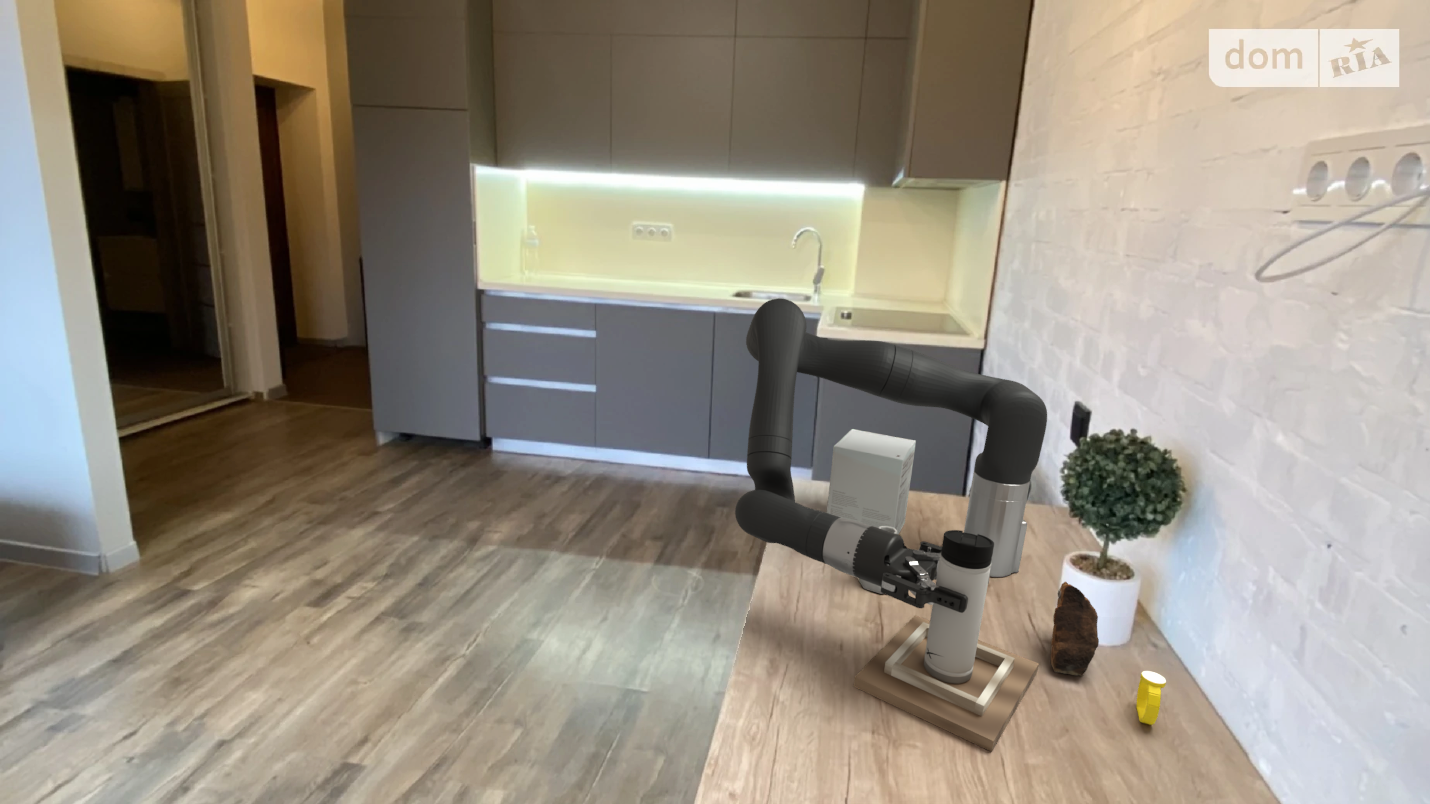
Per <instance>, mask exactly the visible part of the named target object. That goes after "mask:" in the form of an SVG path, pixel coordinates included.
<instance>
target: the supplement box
mask: <svg viewBox="0 0 1430 804" xmlns="http://www.w3.org/2000/svg"><path fill="white" fill-rule="evenodd" d="M916 443H917V440H915V439H914V440H913V439H910V438H902V437H898V436H896V437H895V436H891V435H886V434H881V433H876V432H870V431H864V430H860V429H854V428H851V429H850V430H849V431H848V432H847V433H846V434H845V435H844V436H843V437H842V438H841V439H839V441H838V442H837V443H836V444H834V445H833V449H832V457H831V460H832V461H831V468H830V476H829V477H830V479H829V487H828V497H827V504H826V513H829V514H832V515H835V516H838V517H841V518H844V519H850V520H855V521H858V522H862V523H865V524H868V525H871V526H874V527H877V528H879V526H889V527H893V528H895V529H896V530H897V534H898V535H900V533H901V530H902V529H903V527H904V525H905V523H906V516H907V508H908V502H909V494H910V486H911V481H912V479H911V478H912V474H913V464H914V458H915V450H916Z"/></svg>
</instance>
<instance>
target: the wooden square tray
mask: <svg viewBox="0 0 1430 804" xmlns="http://www.w3.org/2000/svg"><path fill="white" fill-rule="evenodd" d="M929 625H930V620H928V619H926V618H924V617H921V616H919V615H916V614H915V615H913V617H911V619H909V620H908V622H907V623H906V624H904V626H903V627H902V628H900V630H899V631H898V632H897V633H896V634H895V635H894V636H893V637H892V638H891V639H890V640H889V641H888V642H887V643H886V644H885V645H884V646H883V647H882V648H881V649H880V650H879V652H877V654H875V655H874V657H873V658H872V659H870V661H869V662H867V664H865V666H864V667H863V668H862V669H860V671H859V672H858V673H857V674H856V675H855V676H854V681H853V687H854V688H856V689H858V688H859V689H858V690H860V691H863V692H864V693H866V694H868V695H870V696H873V697H875V698H877V699H879V700H881V701H883V702H886V703H888V704H890V705H891V706H894V707H896V708H898V709H900V710H902V711H904V712H907V713H909V714H911V715H913V716H915V717H917V718H919V719H921V720H924V721H926V722H928V723H930V724H932V725H934V726H936V727H938V728H940V729H943V730H944V731H947V732H949V733H951V734H953V735H955V736H957V737H959V738H961V739H963V740H965V741H968V742H970V743H972V744H974V745H977V746H978V747H980V748H983V749H985V750H986V751H989V752H991V753H992V752H993V750H994V749H995V748H996V745H997V744H998V742H999V740H1000V738H1001V737H1002V735H1003V733H1004V731H1005V730H1006V727H1007V726H1008V724H1009V722H1010V720H1011V719H1012V717H1013V716H1014V714H1015V711H1016V710H1017V708H1018V707H1019V706H1020V703H1021V702H1022V700H1023V698H1024V696H1025V694H1026V693H1027V692H1028V690H1029V688H1030V686H1031V684H1032V683H1033V681H1034V679H1035V677H1036V675H1037V674H1038V669H1039V665H1040V663H1038V662H1036V661H1034V660H1031V659H1028V658H1026V657H1023V656H1021V655H1018V654H1015V653H1012V652H1010V651H1008V650H1005V649H1003V648H1001V647H997V646H995V645H992V644H990V643H987V642H985V641H982V640H979V639H978V643H977V649H976V655H975V660H974V665H973V672H972V676H971V678H970V679H969V680H968V681H966V682H964V683H959V684H953V683H947V682H943V681H940V680H938V679H936V678H935V677H933V676H932V675H930V674H929V673H928V672H927V671H926V669H925V667H924V657H925V651H926V644H927V638H928V631H929Z"/></svg>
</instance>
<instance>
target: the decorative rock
mask: <svg viewBox="0 0 1430 804" xmlns="http://www.w3.org/2000/svg"><path fill="white" fill-rule="evenodd" d="M1098 619H1099V616H1098V613H1097V610H1096V608H1094V606H1093V605H1092V603H1091V601H1090V599H1088V597H1086V596H1085V594H1084V593H1083V592H1082V591H1081V590H1080V589H1079V588H1077V587H1075V586H1073V585H1072V584H1069V583H1068V582H1067V581H1064V582H1063V583H1061V585H1060V587H1059V589H1058V591H1057V603H1056V608H1055V609H1054V613H1053V618H1052V621H1053V627H1052V633H1051V634H1052V635H1051V636H1052V637H1051V642H1050V644H1051V649H1050V665H1051V667H1052V670H1053V671H1054V673H1059V674H1060V673H1061V674H1064V675H1067V674H1068V675H1072V676H1080V677H1082V676H1084V674H1085V673H1086V671H1087V669H1088V667H1089V665H1090V663H1091V662H1092V660H1093V659H1094V656H1095V652H1096V651H1097V648H1098V647H1099V642H1100V641H1099V637H1098V634H1099V633H1098Z"/></svg>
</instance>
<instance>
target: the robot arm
mask: <svg viewBox="0 0 1430 804" xmlns="http://www.w3.org/2000/svg"><path fill="white" fill-rule="evenodd" d="M745 340H746V341H745V345H746V348H747V351H748V352H749V354H750V355H751V356H752V357H753V359H755V360H756V361H757V362H758V364H757V365H758V367H757V369H758V371H757V380H756V381H757V382H756V387H755V393H754V398H753V405H752V410H751V415H750V416H751V417H750V423H749V428H748V440H747V451H746V452H747V453H746V469H747V470H746V471H747V473H748V475H749V477H751V479H752V481H753V484H754V489H753V490H749V491H748V492H745V493H744V494H743V495H741V497H740V498H739V499H738V501H737V502H736V505H735V508H734V514H735V519H736V523H737V525H738V526H739V527H740V529H741V530H743V532H745V533H746V534H748V535H750V536H753V537H755V538H757V539H759V540H760V541H763V542H765V543H768V544H777V545H778V544H779V545H781V546H784V547H787V548H789V549H792V550H793V551H795V552H797V553H799V554H801V555H803V556H804V557H807V558H809V559H812V560H814V561H817V562H820V563H823V564H825V565H827V566H830V567H832V568H834V569H835V570H837V571H839V572H841V573H844V574H846V575H849V576H852V577H854V578H857V579H858V580H859V579H862V580H864V581H867V582H870V583H872V584H875V585H878V586H880V587H881V592H882V593H884V594H883V595H886V596H889V597H891V598H894V599H895V600H898V601H901V602H903V603H906V604H907V605H910V606H912V607H915V608H917V609H924V608H925V605H926V604H927V605H933V604H934V603H936V604H939V605H941V606H944V607H947V608H949V609H952V610H955V611H957V612H960V613H963V612H964V611H965V610H966V608H967V603H968V597H967V596H966V595H964V594H961V593H959V592H956V591H953V590H950V589H948V588H945V587H942V586H939V587H938V589H937V585H936V582H935V581H936V579H937V573H938V566H939V560H940V553H941V549H942V545H938V544H935V543H932V542H929V541H920V544H919V548H918V549H913V548H908V547H907V546H906V544H905V541H904V539H903V537H902V536H901V535H900V534H895V533H892V532H889V531H886V530H883V529H880V528H877V527H874V526H871V525H868V524H865V523H862V522H858V521H855V520H850V519H844V518H841V517H838V516H835V515H832V514H829V513H827V511H823V510H819V509H814V508H810V507H807V506H805V505H802V504H800V503H798V502H796V498H795V491H794V490H795V488H794V483H793V477H792V471H791V470H792V469H791V468H792V459H793V457H792V456H793V455H792V454H793V437H794V434H793V433H794V432H793V429H794V408H795V407H794V405H795V394H796V393H795V392H796V382H797V375H798V373H799V374H804V375H809V376H813V377H816V378H821V379H824V380H826V381H830V382H833V383H836V384H839V385H841V386H845V387H849V388H852V389H855V390H858V391H861V392H864V393H868V394H870V395H873V396H875V397H878V398H882V399H885V400H888V401H891V402H895V403H897V404H902V405H909V406H913V407H914V406H915V407H926V408H927V407H929V408H940V409H946V410H950V411H953V412H956V413H959V414H961V415H964V416H967V417H969V418H971V419H973V420H976V421H978V422H980V423H982V424H984V425H985V426H987V431H986V437H985V442H984V445H983V450H982V451H981V452H980V453H979V454H978V455H977V456H976V458H975V461H974V467H973V472H972V480H971V486H970V493H969V497H968V505H967V511H966V518H965V522H964V528H963V532H965V533H971V534H975V535H977V534H980V535H983V536H985V537H988V538H989V539H991V540H992V541H993V542H994V549H993V555H992V560H991V567H990V575H989V580H988V584H989V582H990V577H993V578H1002V577H1003V578H1004V577H1007V576H1010V575H1012V574H1013V573H1019V571H1020V566H1021V561H1022V555H1023V550H1024V545H1025V541H1026V540H1025V539H1026V533H1027V529H1028V522H1027V521H1026V520H1025V519H1024V516H1025V511H1026V510H1025V509H1026V505H1027V501H1028V494H1029V490H1030V489H1029V488H1030V483H1031V480H1032V474H1033V471H1034V470H1035V469H1036V467H1037V466H1038V463H1039V460H1040V456H1041V451H1042V447H1043V444H1044V439H1045V435H1046V429H1047V424H1048V412H1047V411H1048V409H1047V406H1046V404H1045V402H1044V400H1043V399H1042V398H1041V397H1040V396H1039V395H1038V394H1037V393H1035V392H1034V391H1032V390H1031V389H1030V388H1029V387H1028V386H1026V385H1024V384H1022V383H1020V382H1017V381H1016V380H1015V381H1014V380H1010V379H1006V378H999V377H995V376H991V375H990V376H989V375H984V374H980V373H975V372H971V371H967V370H963V369H961V368H958V367H956V366H953V365H951V364H949V363H946V362H944V361H942V360H940V359H937V358H934V357H932V356H929V355H926V354H923V353H921V352H918V351H915V350H913V349H910V348H906V347H904V346H900V345H897V344H894V343H889V342H886V341H882V340H881V341H880V340H835V339H829V338H825V337H822V336H818V335H815V334H811V333H808V332H807V320H806V317H805V313H804V312H803V310H802V309H801V307H800V306H798V305H797V304H796V303H795V302H793V301H791V300H789V299H787V298H771V299H769V300H767V301H765V302H763V304H762V305H761V306H759V307H758V308H757V310H756V312H755V313H754V314H753V318H752V319H751V322H750V325H749V328H748V331H747V334H746V337H745ZM1011 573H1012V574H1011ZM909 592H910V593H911V594H912V595H913V596H914V597H913V596H911V595H909Z"/></svg>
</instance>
